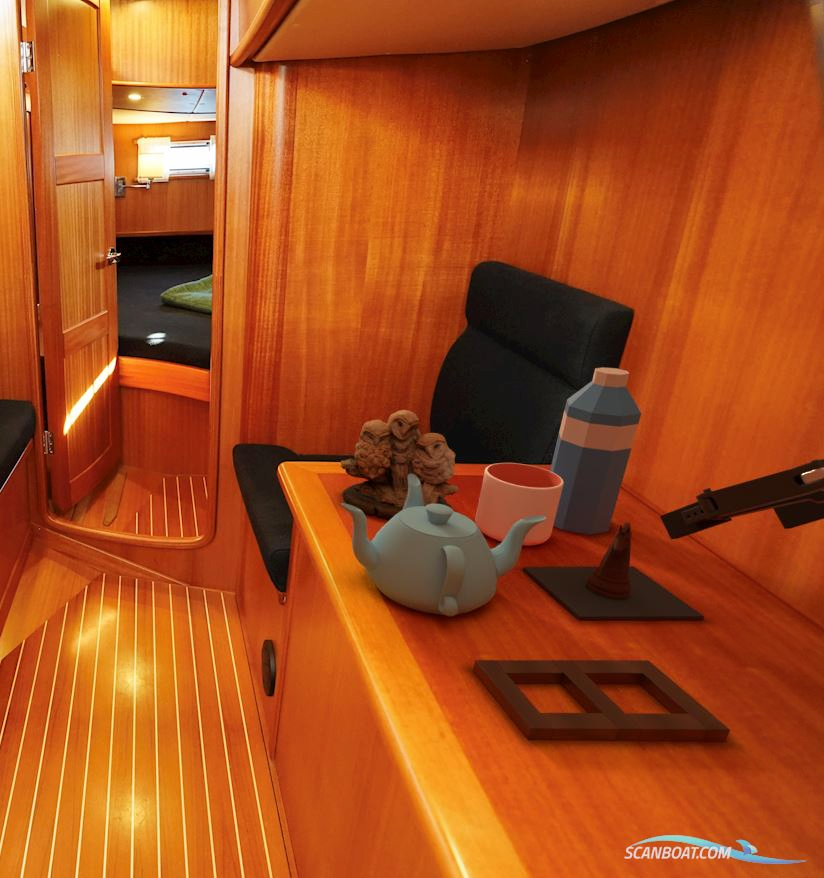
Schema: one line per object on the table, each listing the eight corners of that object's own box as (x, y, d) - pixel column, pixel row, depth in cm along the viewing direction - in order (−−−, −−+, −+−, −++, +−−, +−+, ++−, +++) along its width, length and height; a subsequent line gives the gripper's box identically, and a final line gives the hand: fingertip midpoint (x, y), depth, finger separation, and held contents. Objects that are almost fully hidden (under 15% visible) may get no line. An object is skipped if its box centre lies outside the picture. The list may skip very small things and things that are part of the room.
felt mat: (632, 569, 99) (633, 566, 98) (703, 620, 87) (704, 616, 87) (522, 570, 99) (523, 566, 99) (578, 620, 88) (579, 616, 88)
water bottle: (527, 507, 118) (560, 363, 109) (588, 509, 116) (626, 363, 108) (557, 533, 109) (596, 379, 100) (623, 535, 108) (668, 379, 99)
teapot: (395, 542, 108) (406, 469, 104) (529, 594, 94) (549, 512, 90) (330, 579, 99) (339, 501, 95) (467, 643, 85) (486, 555, 80)
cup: (459, 527, 112) (470, 469, 109) (501, 514, 116) (513, 458, 112) (520, 555, 103) (534, 493, 100) (564, 540, 107) (579, 480, 103)
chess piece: (582, 590, 93) (600, 524, 90) (590, 576, 96) (608, 511, 93) (625, 604, 90) (646, 535, 87) (633, 588, 93) (653, 521, 90)
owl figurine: (335, 513, 118) (347, 418, 112) (336, 486, 128) (347, 397, 122) (457, 529, 111) (476, 428, 105) (447, 499, 122) (464, 405, 116)
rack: (645, 671, 79) (648, 660, 79) (726, 741, 69) (730, 729, 69) (472, 670, 80) (474, 659, 80) (527, 739, 70) (530, 728, 70)
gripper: (847, 498, 56) (635, 564, 75) (1122, 474, 58) (846, 545, 77) (797, 415, 59) (605, 499, 78) (1059, 394, 61) (809, 482, 80)
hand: (724, 522), depth 78 cm, fingers open, 13 cm apart
